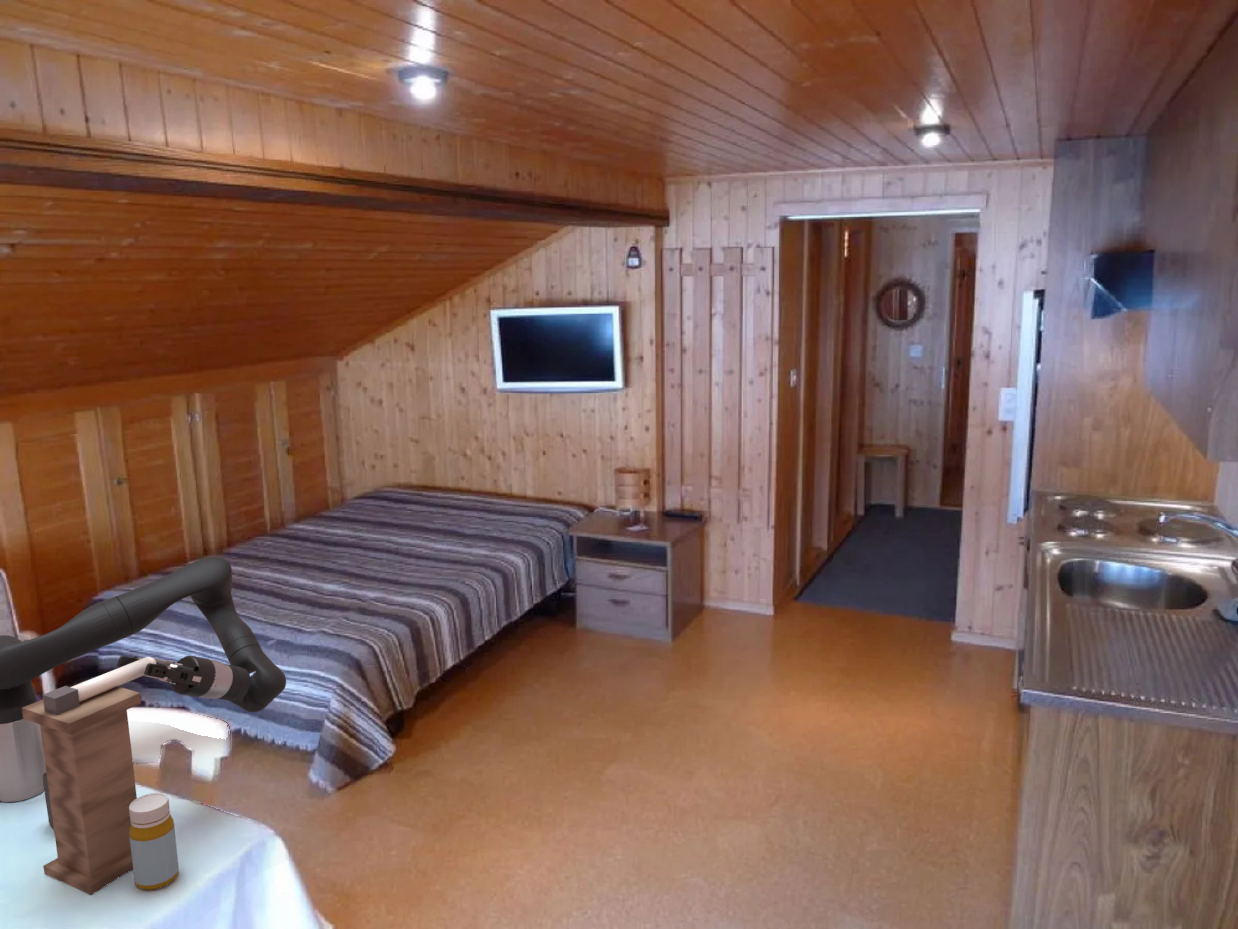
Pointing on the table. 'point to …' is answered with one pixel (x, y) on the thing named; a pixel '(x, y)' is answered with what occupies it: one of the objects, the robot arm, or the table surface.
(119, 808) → the pedestal
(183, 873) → the table surface
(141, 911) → the table surface
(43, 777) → the battery charger
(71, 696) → the hammer
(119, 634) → the robot arm
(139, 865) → the bottle
